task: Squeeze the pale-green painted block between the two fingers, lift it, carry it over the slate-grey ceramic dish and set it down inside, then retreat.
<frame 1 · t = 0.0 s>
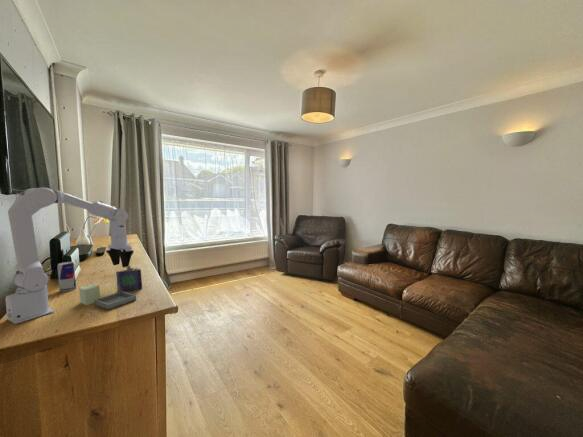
hand: (120, 265, 106), 10 cm above the table, fingers open, 7 cm apart
green block: (90, 301, 92), on the table
dish: (116, 302, 91), on the table
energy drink: (68, 290, 106), on the table
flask: (130, 290, 104), on the table
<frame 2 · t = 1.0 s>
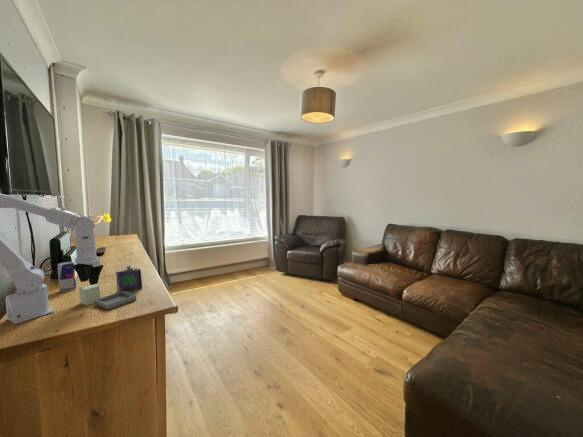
hand: (89, 282, 92), 8 cm above the table, fingers open, 7 cm apart
nothing on the table moved.
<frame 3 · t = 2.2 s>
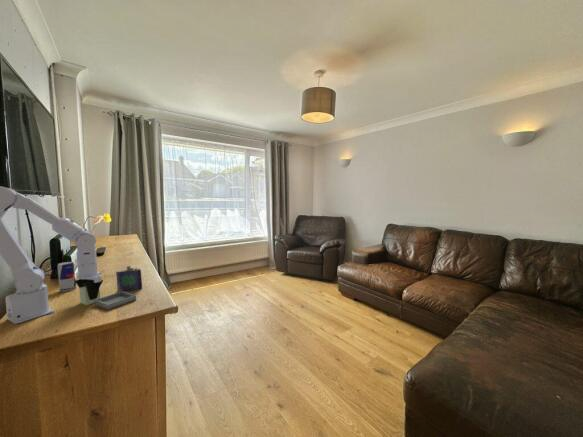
hand: (90, 297, 92), 2 cm above the table, fingers closed on green block, 4 cm apart
green block: (90, 301, 92), on the table, touching gripper
everything else where it was.
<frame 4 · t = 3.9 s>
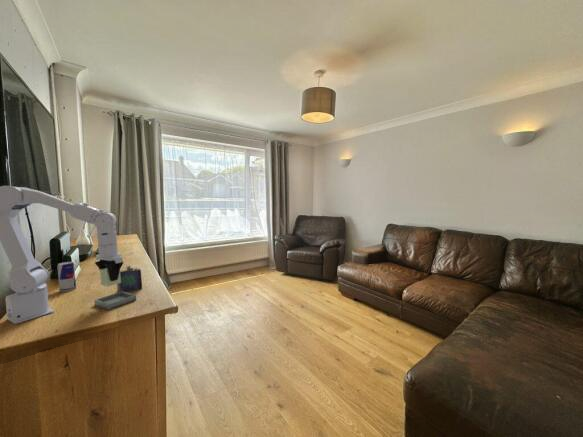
hand: (110, 279, 91), 9 cm above the table, fingers closed on green block, 4 cm apart
green block: (111, 283, 91), point 7 cm above the table, touching gripper
everything else where it was.
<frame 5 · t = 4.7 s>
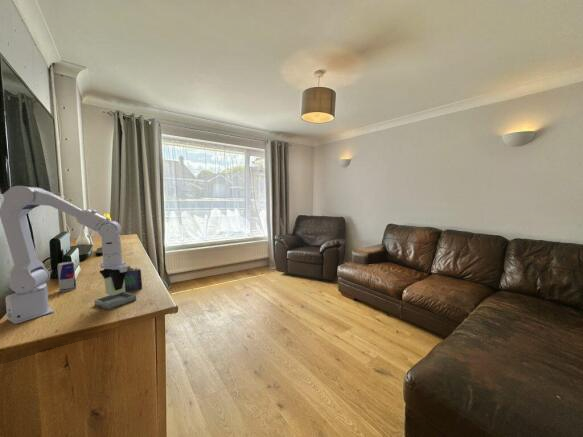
hand: (115, 288, 91), 6 cm above the table, fingers closed on green block, 4 cm apart
green block: (115, 292, 91), point 4 cm above the table, touching gripper
everything else where it was.
when the fingers open (3 cm above the table, at t = 5.6 s): green block stays where it is, resting on dish.
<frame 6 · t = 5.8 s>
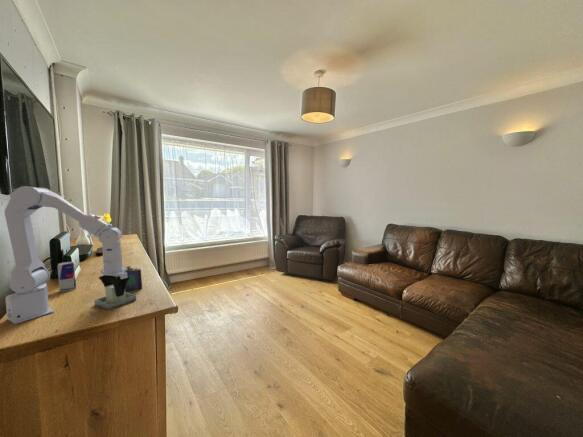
hand: (115, 294, 91), 3 cm above the table, fingers open, 6 cm apart
green block: (116, 300, 91), point 1 cm above the table, touching dish
everything else where it was.
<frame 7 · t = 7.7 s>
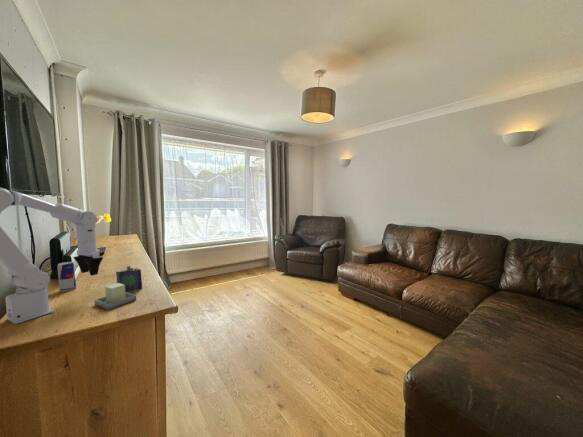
hand: (89, 273, 97), 9 cm above the table, fingers open, 7 cm apart
nothing on the table moved.
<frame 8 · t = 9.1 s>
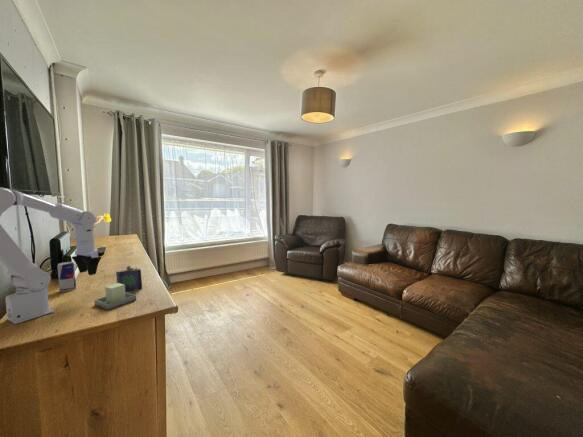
hand: (87, 273, 98), 9 cm above the table, fingers open, 7 cm apart
nothing on the table moved.
at the end: green block inside the target area on the dish (0.1 cm from its centre), point 0.6 cm above the dish's base; green block tilted 0°; the gripper is holding nothing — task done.
